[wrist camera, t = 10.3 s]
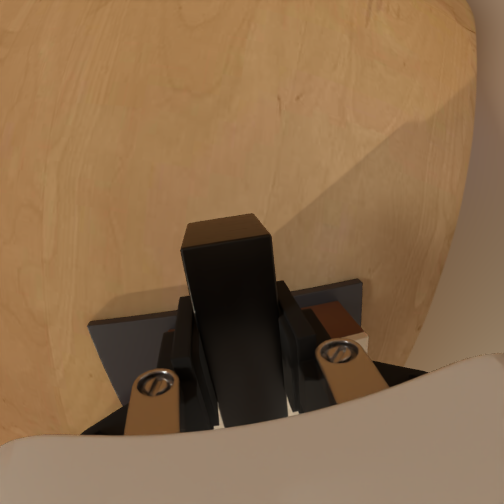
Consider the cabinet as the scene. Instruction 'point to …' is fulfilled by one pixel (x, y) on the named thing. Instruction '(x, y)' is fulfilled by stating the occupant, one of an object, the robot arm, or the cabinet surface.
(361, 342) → the cake
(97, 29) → the cabinet surface
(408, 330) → the cabinet surface
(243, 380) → the cake knife
